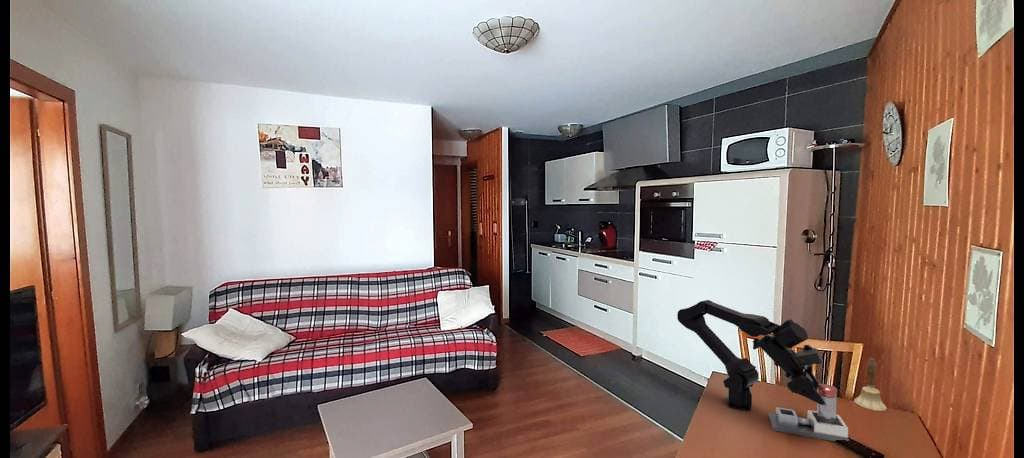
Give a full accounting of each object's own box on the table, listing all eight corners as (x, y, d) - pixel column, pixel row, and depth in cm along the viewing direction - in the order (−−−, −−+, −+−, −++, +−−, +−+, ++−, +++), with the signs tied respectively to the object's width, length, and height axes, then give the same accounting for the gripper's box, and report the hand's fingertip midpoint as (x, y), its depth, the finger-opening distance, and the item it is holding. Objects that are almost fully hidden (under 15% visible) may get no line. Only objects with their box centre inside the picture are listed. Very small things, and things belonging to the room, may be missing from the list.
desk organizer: (773, 430, 121) (774, 416, 121) (768, 415, 130) (768, 403, 129) (848, 443, 114) (849, 429, 114) (838, 427, 122) (838, 414, 122)
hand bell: (893, 412, 131) (895, 364, 130) (863, 410, 132) (865, 362, 131) (876, 400, 139) (877, 354, 138) (848, 398, 140) (849, 353, 139)
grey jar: (818, 430, 119) (819, 389, 118) (814, 422, 123) (815, 382, 122) (838, 434, 117) (839, 391, 116) (833, 425, 121) (834, 385, 120)
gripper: (803, 348, 114) (852, 396, 109) (802, 330, 130) (845, 372, 124) (769, 369, 119) (814, 416, 114) (772, 349, 135) (812, 390, 129)
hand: (823, 397), depth 120 cm, fingers open, 9 cm apart
